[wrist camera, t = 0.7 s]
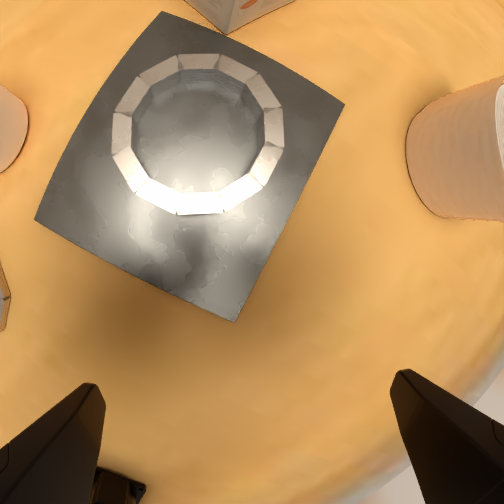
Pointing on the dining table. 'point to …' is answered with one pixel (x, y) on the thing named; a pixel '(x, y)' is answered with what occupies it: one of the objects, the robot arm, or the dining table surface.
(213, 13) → the small box
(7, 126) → the can
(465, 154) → the toilet tissue
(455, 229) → the dining table surface
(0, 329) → the ring
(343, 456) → the dining table surface
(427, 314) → the dining table surface
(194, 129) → the ring seat
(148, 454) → the dining table surface
